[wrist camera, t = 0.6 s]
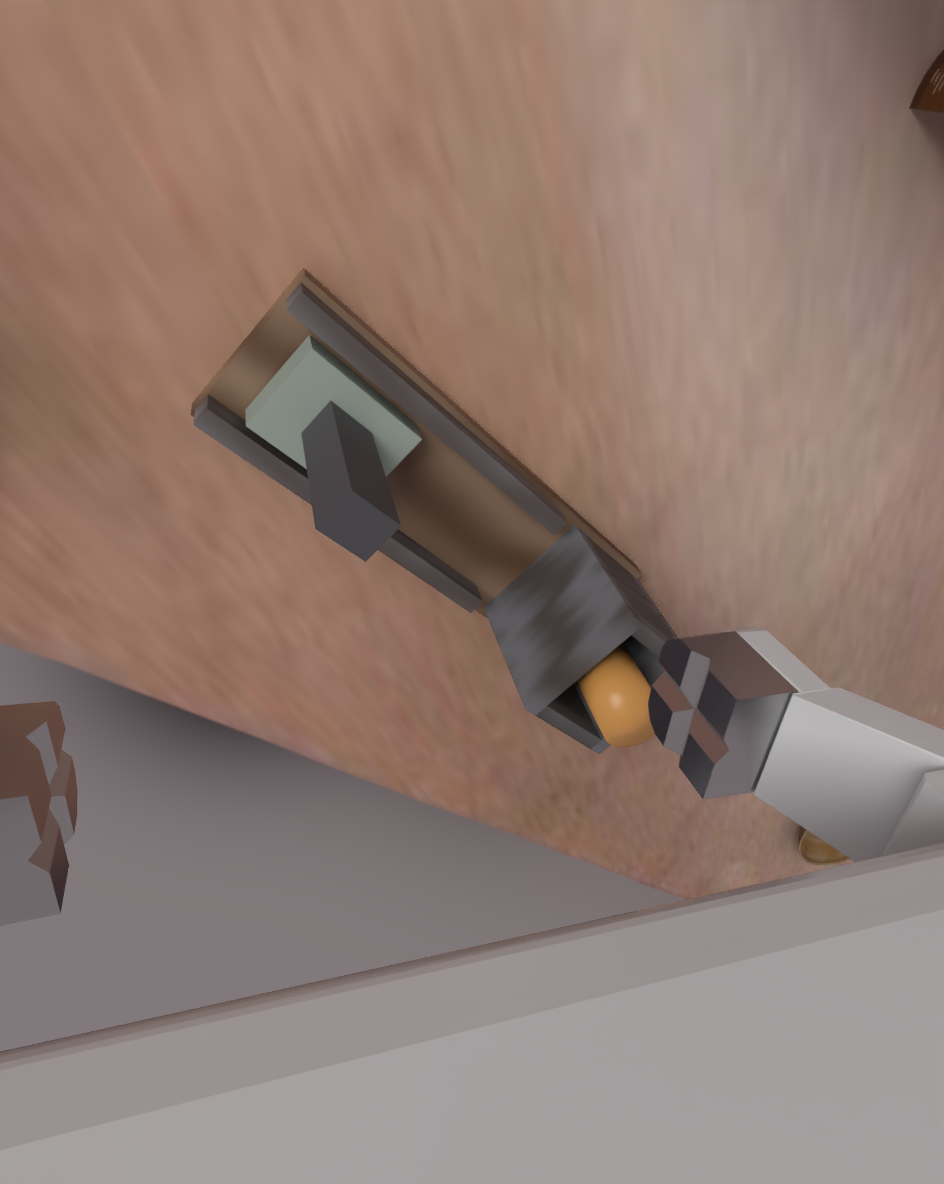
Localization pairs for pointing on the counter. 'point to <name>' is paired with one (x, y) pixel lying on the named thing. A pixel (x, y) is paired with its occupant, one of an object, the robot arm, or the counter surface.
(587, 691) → the button
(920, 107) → the food container
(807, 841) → the plant saucer
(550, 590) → the rail
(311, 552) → the counter surface
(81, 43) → the counter surface
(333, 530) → the carriage
